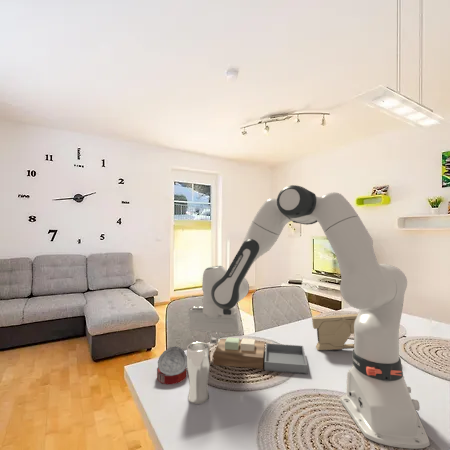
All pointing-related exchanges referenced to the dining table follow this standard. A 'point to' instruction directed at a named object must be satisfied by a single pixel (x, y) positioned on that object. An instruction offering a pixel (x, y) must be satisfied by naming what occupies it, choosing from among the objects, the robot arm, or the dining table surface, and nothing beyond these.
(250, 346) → the tile
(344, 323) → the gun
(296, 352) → the tray
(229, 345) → the tile
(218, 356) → the wooden block
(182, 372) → the canned food
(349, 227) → the robot arm
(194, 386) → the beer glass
